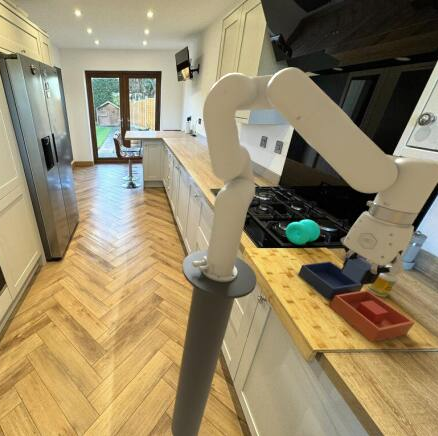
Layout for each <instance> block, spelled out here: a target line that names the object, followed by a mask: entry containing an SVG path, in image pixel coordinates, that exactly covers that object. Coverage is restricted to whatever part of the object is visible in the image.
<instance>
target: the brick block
mask: <svg viewBox="0 0 438 436" xmlns="http://www.w3.org/2000/svg"><path fill="white" fill-rule="evenodd" d="M356 310H357V311H358V312H359V313H360V314H362V315H363V316H364V317H366V318H367V319H368V320H369V321H371V322H372V323H373V324H380V323H382V321H383V320H384V318H385V317H386V315H387V314H388V311H386V310H385V309H383V308H382V307H381V306H379V305H378V304H376V303H375V302H373V301H372V300H371V301H366V302H360V304H359V305H358V307H357V309H356Z"/></svg>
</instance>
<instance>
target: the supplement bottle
mask: <svg viewBox="0 0 438 436" xmlns="http://www.w3.org/2000/svg"><path fill="white" fill-rule="evenodd" d="M386 267H392V265H389V264H388V265H386ZM398 274H399V273H380V275H379V276H378V278H377V280H376V281H375V283H373V284H366V288H367V289H366V290H368V291H369V292H371V293H372V294H374V295H375V296H377V297H387V296H388V295H389V294H390V292H391V291H392V289H393V287H394V285H395V284H396V283H397V281H398V280H399V279H398Z"/></svg>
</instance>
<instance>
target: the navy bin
mask: <svg viewBox="0 0 438 436" xmlns="http://www.w3.org/2000/svg"><path fill="white" fill-rule="evenodd" d="M298 277H300V278H301V279H302V280H304V282H306V284H308V285H310V286H311V287H312V288H313V289H315V290H316V292H318V293H319V294H320V295H322V296H323V297H324V298H325V299H326V300H329V301H330V300H333V299H334V297H335V295H341V294H347V293H353V292H359V291H362V289H363V287H364V285H362V284H357V283H355V282H354V281H352V280H351V279H350V278H348V277H347V276H345V275H344V274H342V268H341V267H340V266H338V265H336V264H335V263H333V262H332V261H329V260H328V261H321V262H314V263H307V264H302V265H301V267H300V269H299V272H298Z"/></svg>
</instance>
